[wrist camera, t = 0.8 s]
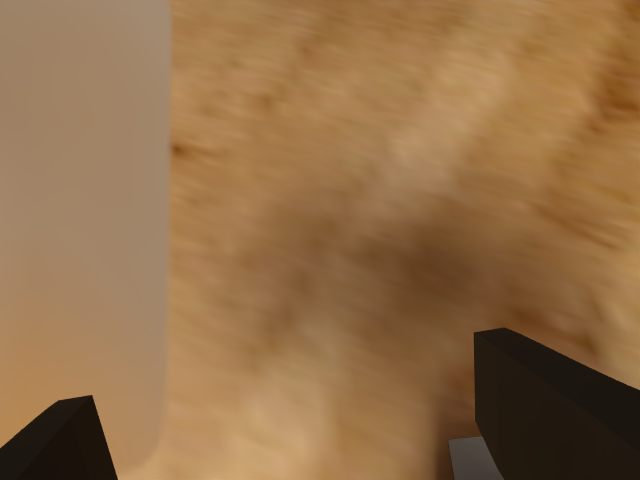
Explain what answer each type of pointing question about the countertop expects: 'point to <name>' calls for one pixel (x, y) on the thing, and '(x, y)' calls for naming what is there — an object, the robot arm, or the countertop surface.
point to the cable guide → (472, 460)
